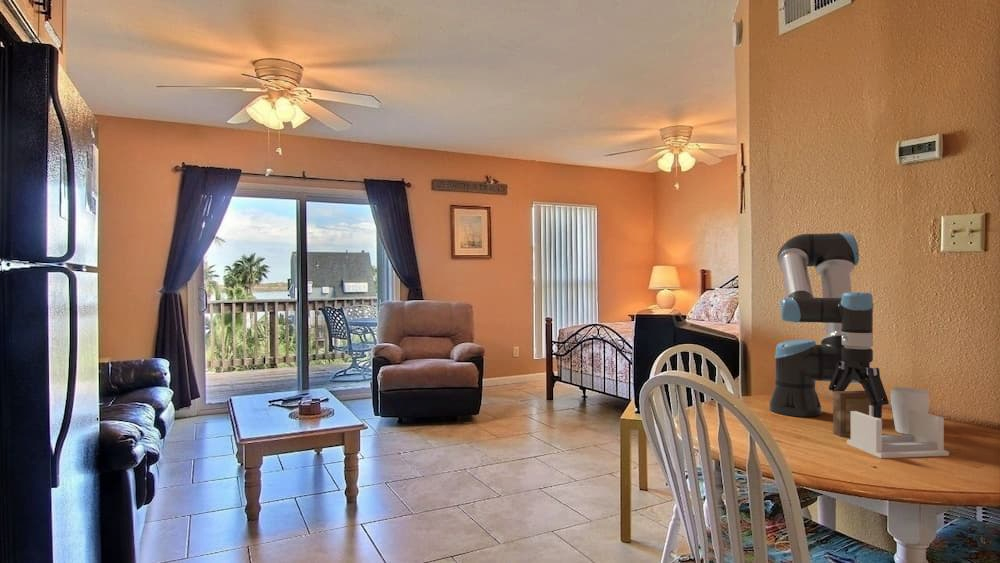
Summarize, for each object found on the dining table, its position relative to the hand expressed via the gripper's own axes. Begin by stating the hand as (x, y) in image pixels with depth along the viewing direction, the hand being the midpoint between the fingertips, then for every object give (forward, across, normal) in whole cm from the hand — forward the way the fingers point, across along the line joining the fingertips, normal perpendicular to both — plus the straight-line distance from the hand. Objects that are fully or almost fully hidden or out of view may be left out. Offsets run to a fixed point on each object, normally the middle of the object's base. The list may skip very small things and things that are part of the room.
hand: (856, 422), depth 159 cm
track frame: (+3, +14, 0) cm, 14 cm away
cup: (+4, 0, +16) cm, 16 cm away
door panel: (+3, 0, 0) cm, 3 cm away
